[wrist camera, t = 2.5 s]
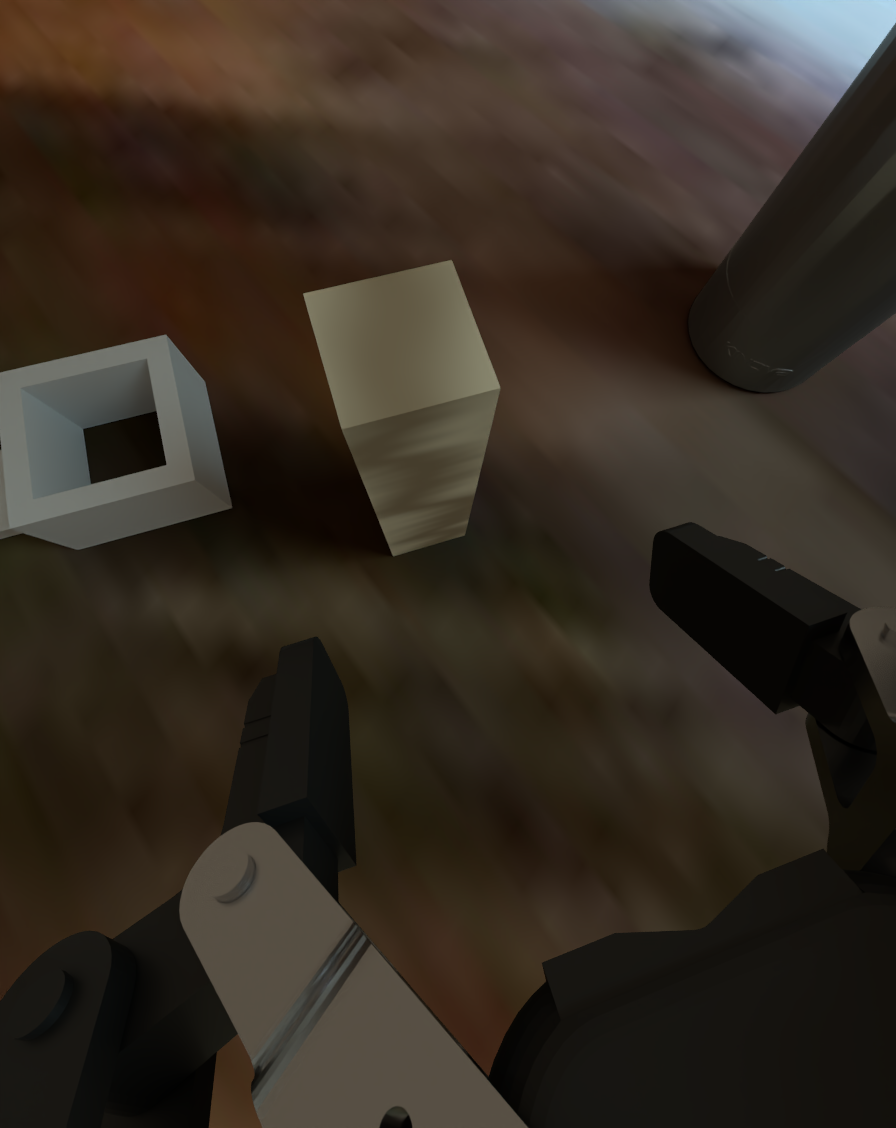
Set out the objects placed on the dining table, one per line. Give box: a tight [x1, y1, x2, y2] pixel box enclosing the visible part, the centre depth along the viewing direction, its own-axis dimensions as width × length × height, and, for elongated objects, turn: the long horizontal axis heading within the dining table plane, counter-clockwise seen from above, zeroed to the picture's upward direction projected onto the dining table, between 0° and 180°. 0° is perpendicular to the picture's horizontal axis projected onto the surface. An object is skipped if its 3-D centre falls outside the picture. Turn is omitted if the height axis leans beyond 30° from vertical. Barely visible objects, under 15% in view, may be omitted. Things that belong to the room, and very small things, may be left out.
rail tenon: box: [303, 260, 500, 556], centre depth 19 cm, size 4×4×14 cm
